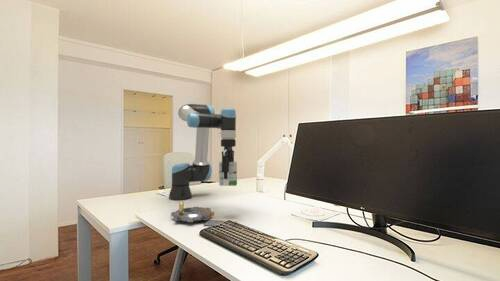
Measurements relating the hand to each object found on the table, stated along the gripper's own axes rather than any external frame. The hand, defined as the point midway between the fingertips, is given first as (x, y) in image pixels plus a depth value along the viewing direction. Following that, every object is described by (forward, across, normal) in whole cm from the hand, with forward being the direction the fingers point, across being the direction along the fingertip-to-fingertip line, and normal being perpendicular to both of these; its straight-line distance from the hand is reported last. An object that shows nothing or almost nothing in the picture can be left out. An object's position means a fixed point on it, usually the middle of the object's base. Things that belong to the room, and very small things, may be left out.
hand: (228, 184), depth 130 cm
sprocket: (+15, +6, -16) cm, 23 cm away
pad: (+17, +10, 0) cm, 20 cm away
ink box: (+1, 0, 0) cm, 1 cm away
